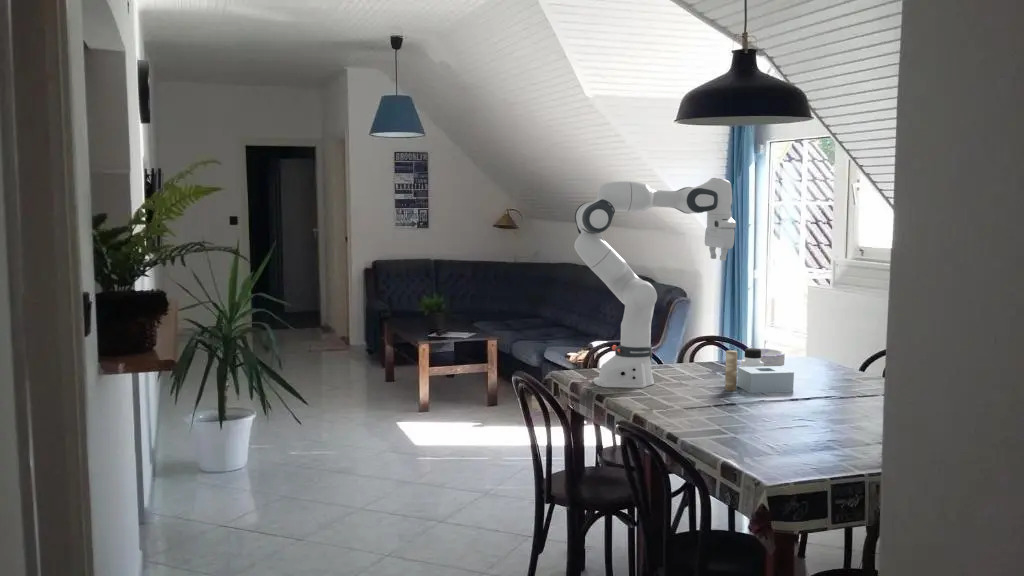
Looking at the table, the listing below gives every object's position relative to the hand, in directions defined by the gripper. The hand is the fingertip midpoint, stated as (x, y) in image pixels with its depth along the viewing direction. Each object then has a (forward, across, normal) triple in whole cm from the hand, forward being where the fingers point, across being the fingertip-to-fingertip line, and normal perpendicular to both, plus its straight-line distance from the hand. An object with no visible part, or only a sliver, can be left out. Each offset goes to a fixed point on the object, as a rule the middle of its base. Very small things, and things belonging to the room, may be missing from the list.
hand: (718, 259), depth 327 cm
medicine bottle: (+46, -1, +15) cm, 49 cm away
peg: (+46, +15, 0) cm, 48 cm away
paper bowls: (+46, -17, +27) cm, 56 cm away
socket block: (+46, +15, +13) cm, 50 cm away
